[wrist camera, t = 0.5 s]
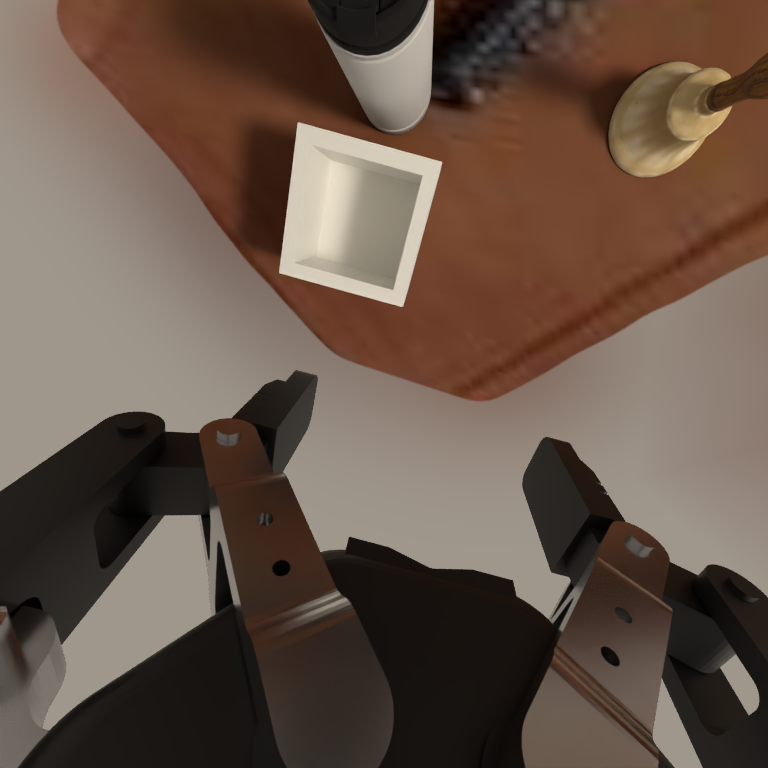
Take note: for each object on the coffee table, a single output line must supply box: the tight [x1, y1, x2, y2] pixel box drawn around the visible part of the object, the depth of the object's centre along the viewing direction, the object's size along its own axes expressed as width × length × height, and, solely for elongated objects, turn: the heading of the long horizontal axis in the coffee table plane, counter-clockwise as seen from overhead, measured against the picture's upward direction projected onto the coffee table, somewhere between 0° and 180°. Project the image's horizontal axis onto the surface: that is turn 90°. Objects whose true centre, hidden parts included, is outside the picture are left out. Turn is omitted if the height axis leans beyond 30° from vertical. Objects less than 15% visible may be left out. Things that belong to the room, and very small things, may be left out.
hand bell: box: [608, 53, 768, 178], centre depth 24 cm, size 8×8×16 cm
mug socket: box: [279, 122, 442, 307], centre depth 33 cm, size 11×12×8 cm
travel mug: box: [308, 0, 434, 135], centre depth 23 cm, size 6×7×20 cm
